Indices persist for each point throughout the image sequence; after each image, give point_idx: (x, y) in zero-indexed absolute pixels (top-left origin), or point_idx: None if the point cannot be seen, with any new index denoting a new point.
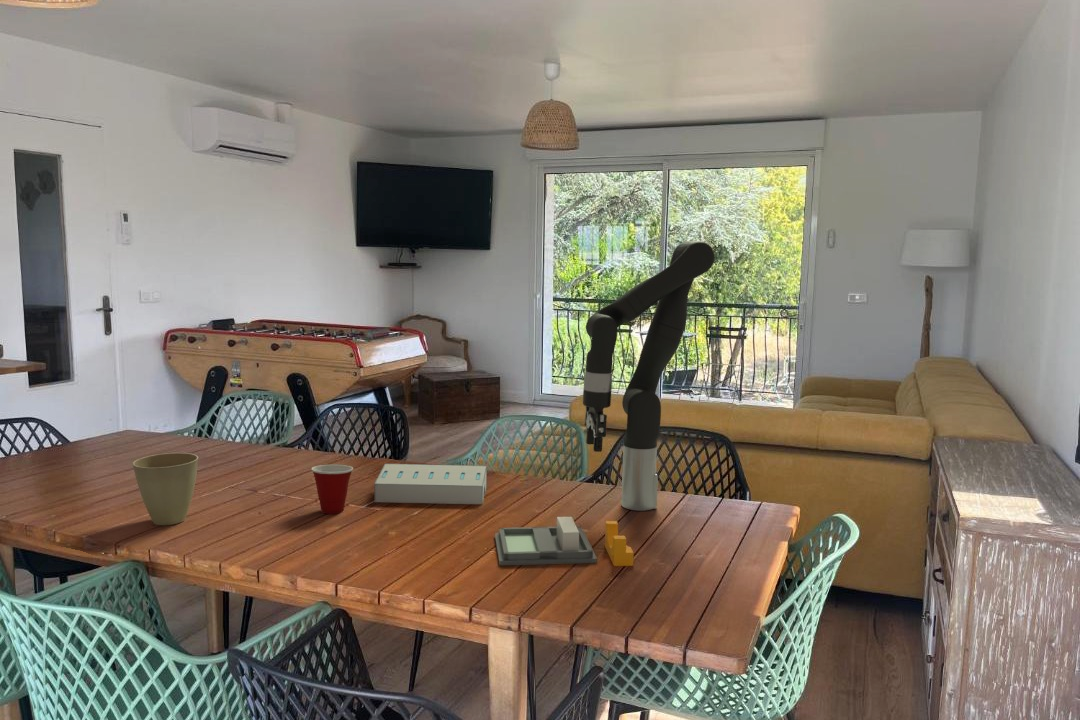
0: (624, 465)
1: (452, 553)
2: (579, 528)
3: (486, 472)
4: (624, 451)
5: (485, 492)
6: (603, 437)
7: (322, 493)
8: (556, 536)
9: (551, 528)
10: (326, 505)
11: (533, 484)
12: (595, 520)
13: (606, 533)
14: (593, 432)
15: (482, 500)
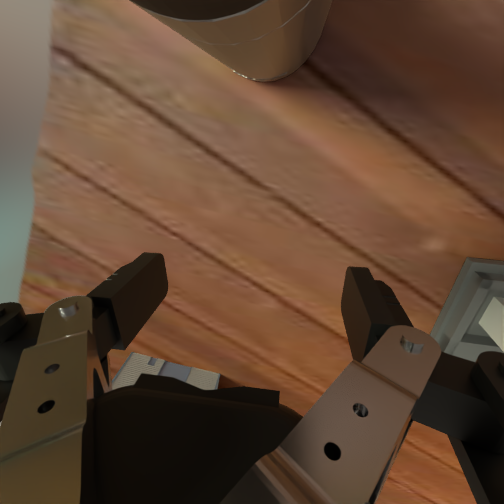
0: (258, 52)
1: (448, 447)
2: (499, 285)
3: (114, 381)
4: (235, 31)
5: (151, 357)
6: (425, 334)
7: None
8: (476, 322)
9: (461, 336)
10: None
11: (84, 270)
12: (369, 200)
13: None
14: (120, 303)
15: (218, 380)
